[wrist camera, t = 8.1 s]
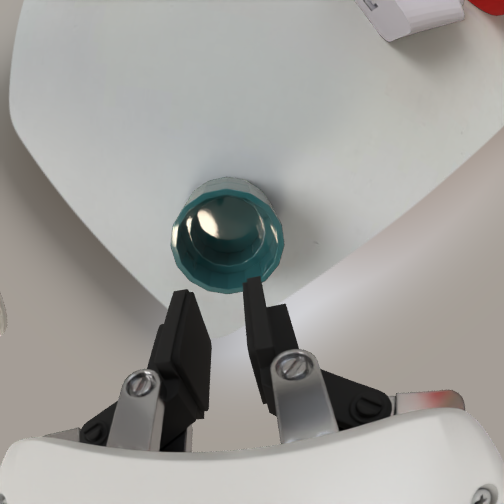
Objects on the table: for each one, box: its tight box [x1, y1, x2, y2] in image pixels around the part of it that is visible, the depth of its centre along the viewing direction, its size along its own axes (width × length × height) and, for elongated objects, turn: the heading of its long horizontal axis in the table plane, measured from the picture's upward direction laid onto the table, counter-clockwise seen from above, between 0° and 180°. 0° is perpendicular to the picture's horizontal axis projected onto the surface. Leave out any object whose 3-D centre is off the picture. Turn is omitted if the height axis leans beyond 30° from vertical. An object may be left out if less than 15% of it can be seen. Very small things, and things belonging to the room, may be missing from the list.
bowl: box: [171, 177, 284, 294], centre depth 20 cm, size 7×7×5 cm
